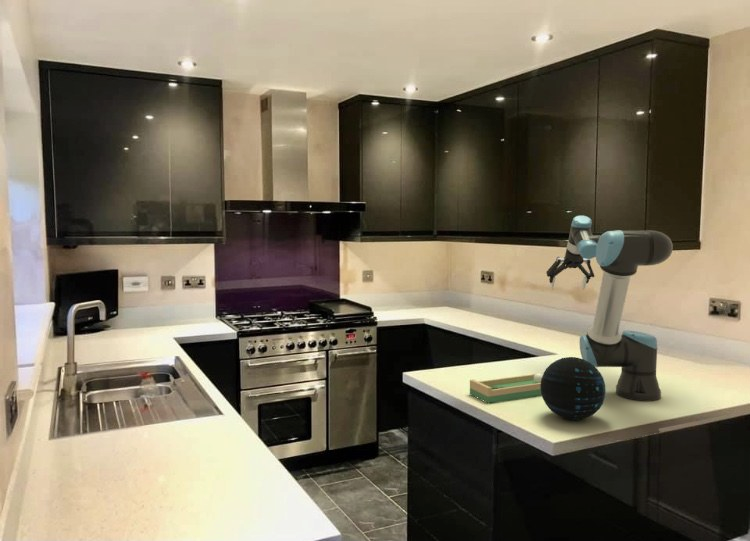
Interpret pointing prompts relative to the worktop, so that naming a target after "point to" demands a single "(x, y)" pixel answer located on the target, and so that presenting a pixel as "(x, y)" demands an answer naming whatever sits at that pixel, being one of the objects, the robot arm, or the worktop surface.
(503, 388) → the tray
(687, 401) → the worktop surface
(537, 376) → the ball
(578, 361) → the decorative sphere
